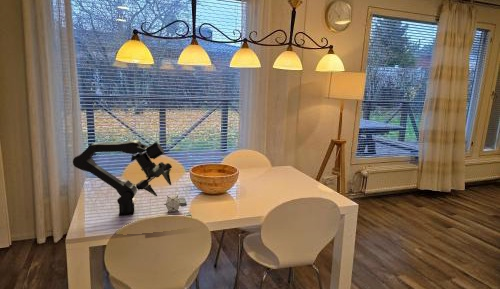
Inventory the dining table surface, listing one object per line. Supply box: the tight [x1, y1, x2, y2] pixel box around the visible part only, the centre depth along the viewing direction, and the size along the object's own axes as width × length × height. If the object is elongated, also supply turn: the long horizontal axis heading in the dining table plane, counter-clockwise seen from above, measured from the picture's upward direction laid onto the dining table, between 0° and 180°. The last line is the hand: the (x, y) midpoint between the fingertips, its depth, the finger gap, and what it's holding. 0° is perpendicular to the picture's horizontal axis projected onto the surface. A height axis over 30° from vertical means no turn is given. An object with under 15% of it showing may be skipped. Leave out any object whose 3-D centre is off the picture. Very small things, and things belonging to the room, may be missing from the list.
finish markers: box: [178, 196, 192, 217], centre depth 171 cm, size 3×25×2 cm, turn 19°
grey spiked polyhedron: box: [163, 194, 182, 214], centre depth 167 cm, size 9×8×10 cm
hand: (163, 190), depth 164 cm, fingers open, 9 cm apart
